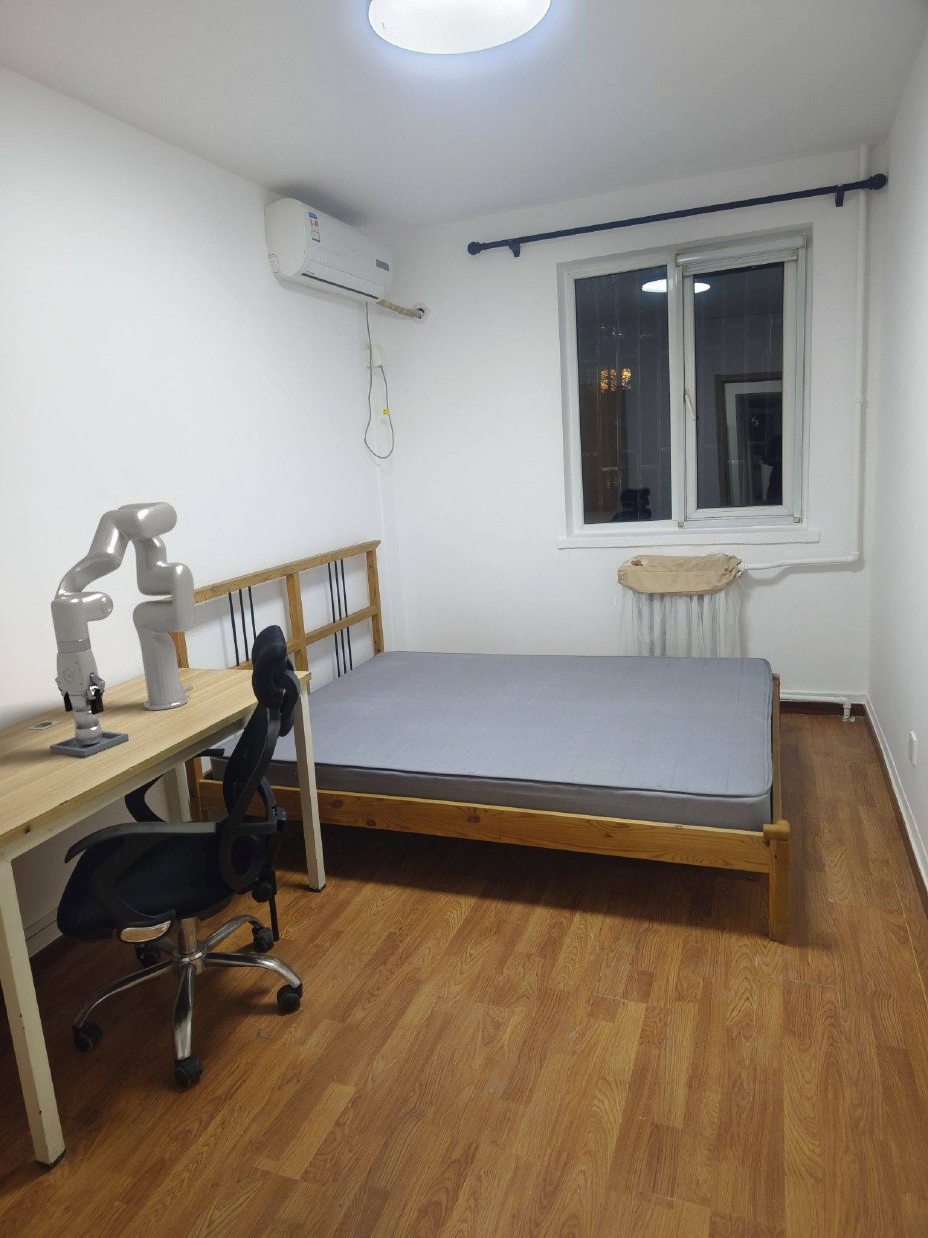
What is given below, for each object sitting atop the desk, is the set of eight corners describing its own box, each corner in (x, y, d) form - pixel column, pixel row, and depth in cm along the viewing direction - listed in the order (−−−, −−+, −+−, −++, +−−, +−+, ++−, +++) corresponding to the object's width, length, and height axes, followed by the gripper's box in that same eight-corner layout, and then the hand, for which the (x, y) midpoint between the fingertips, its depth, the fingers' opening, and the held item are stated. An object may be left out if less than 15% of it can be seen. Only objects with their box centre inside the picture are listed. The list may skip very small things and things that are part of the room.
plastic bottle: (73, 750, 198) (60, 673, 194) (80, 741, 205) (67, 667, 201) (100, 746, 200) (88, 670, 196) (106, 738, 206) (94, 664, 202)
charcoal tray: (94, 736, 210) (93, 729, 210) (128, 740, 205) (127, 734, 204) (50, 752, 199) (49, 746, 199) (85, 758, 193) (84, 751, 193)
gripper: (37, 648, 198) (49, 713, 201) (84, 651, 190) (95, 719, 193) (64, 641, 204) (74, 705, 207) (110, 644, 196) (120, 710, 200)
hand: (84, 711), depth 200 cm, fingers open, 9 cm apart
